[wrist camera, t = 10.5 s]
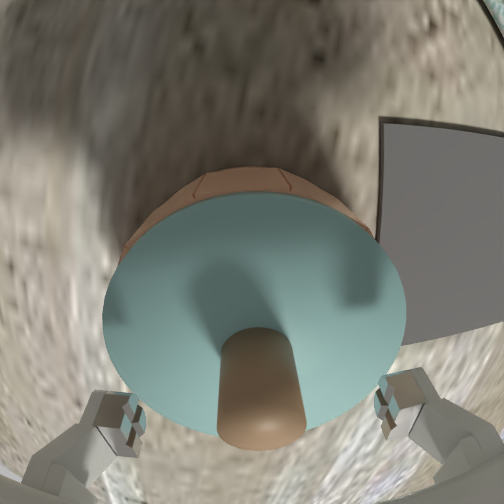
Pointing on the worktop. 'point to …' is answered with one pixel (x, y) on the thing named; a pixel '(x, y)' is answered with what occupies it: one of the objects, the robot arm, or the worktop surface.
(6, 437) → the worktop surface
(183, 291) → the lid
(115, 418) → the robot arm
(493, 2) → the towel
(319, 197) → the bowl
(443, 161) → the mat
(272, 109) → the worktop surface
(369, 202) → the worktop surface
